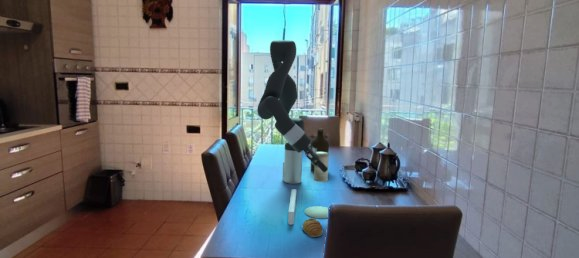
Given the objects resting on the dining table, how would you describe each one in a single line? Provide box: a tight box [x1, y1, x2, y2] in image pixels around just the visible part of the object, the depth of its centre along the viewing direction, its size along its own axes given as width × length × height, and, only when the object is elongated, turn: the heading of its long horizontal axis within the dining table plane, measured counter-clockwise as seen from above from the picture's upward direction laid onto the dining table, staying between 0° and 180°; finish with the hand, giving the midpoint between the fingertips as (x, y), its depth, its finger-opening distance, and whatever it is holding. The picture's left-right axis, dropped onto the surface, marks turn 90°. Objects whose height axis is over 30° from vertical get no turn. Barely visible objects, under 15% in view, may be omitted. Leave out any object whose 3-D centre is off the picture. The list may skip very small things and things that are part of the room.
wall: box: [287, 188, 297, 225], centre depth 148 cm, size 26×2×5 cm, turn 177°
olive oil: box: [310, 127, 330, 173], centre depth 208 cm, size 11×11×25 cm
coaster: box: [304, 205, 329, 220], centre depth 148 cm, size 12×12×1 cm
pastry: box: [302, 217, 323, 238], centre depth 129 cm, size 9×7×4 cm
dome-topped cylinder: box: [313, 152, 330, 183], centre depth 145 cm, size 6×6×11 cm
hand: (325, 168), depth 145 cm, fingers closed on dome-topped cylinder, 5 cm apart
